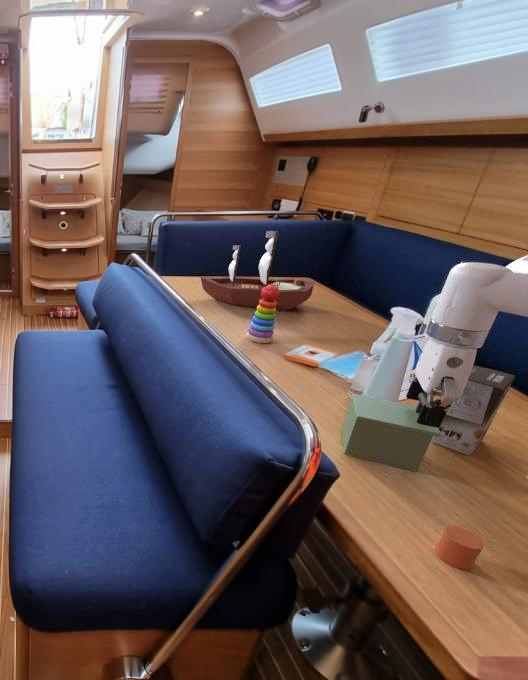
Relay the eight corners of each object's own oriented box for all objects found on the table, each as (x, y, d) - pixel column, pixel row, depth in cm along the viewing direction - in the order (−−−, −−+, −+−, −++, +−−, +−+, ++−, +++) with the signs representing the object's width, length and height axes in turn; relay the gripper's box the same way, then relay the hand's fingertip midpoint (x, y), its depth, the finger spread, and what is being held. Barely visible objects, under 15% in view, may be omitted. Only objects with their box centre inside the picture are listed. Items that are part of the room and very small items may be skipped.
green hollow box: (407, 444, 89) (421, 410, 86) (416, 472, 82) (433, 436, 78) (340, 429, 95) (351, 396, 91) (344, 454, 88) (356, 419, 84)
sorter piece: (467, 552, 66) (478, 532, 64) (475, 574, 63) (488, 553, 61) (431, 541, 68) (441, 521, 66) (438, 562, 65) (449, 541, 63)
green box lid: (427, 411, 85) (436, 389, 83) (439, 437, 78) (450, 414, 76) (351, 396, 91) (358, 376, 89) (356, 419, 84) (363, 397, 82)
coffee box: (470, 457, 85) (504, 390, 78) (429, 441, 90) (458, 377, 83) (483, 440, 89) (516, 375, 83) (443, 426, 94) (472, 363, 88)
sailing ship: (309, 316, 155) (330, 236, 143) (195, 304, 173) (204, 232, 161) (305, 301, 169) (323, 228, 157) (199, 291, 187) (208, 225, 175)
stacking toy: (258, 345, 135) (270, 290, 128) (240, 336, 142) (250, 283, 135) (278, 341, 137) (291, 287, 129) (259, 332, 144) (270, 280, 136)
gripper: (503, 356, 66) (460, 442, 73) (469, 319, 79) (435, 395, 87) (440, 347, 70) (405, 430, 77) (417, 313, 83) (389, 387, 90)
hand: (421, 411), depth 82 cm, fingers open, 9 cm apart
